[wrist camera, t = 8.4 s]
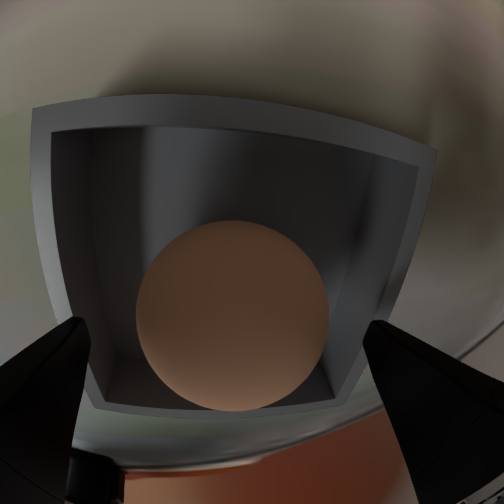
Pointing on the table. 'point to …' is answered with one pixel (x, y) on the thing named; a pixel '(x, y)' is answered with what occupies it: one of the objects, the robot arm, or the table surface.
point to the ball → (232, 315)
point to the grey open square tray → (218, 209)
